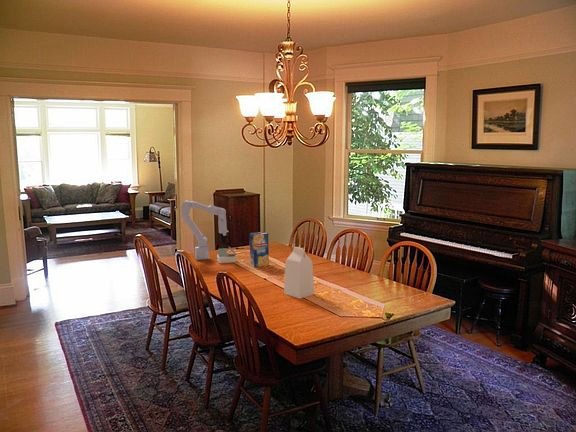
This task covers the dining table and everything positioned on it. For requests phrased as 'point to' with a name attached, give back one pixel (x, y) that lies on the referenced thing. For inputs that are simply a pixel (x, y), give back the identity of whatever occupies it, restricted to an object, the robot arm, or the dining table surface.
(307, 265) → the milk
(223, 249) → the front flap
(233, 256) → the carton
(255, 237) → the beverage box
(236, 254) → the side flap
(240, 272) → the dining table surface
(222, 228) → the robot arm
